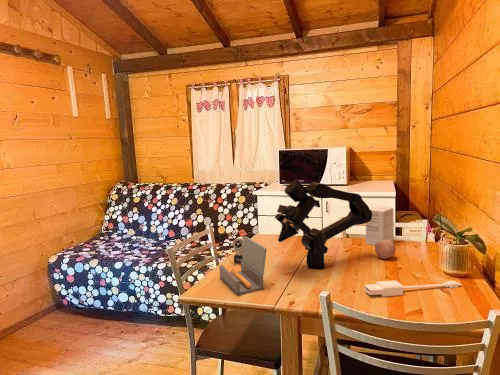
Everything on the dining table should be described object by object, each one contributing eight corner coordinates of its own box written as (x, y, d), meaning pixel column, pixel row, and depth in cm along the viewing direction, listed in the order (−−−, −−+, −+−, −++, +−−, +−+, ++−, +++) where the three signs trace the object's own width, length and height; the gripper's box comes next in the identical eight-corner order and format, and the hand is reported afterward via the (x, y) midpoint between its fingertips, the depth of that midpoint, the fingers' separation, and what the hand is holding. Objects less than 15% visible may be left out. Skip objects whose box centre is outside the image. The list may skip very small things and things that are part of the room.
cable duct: (244, 272, 142) (243, 260, 141) (263, 289, 126) (262, 275, 125) (220, 278, 138) (219, 265, 137) (237, 295, 122) (236, 281, 121)
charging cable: (465, 291, 118) (465, 282, 117) (370, 298, 114) (370, 288, 114) (454, 285, 122) (455, 276, 122) (363, 291, 119) (364, 281, 119)
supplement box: (376, 239, 176) (376, 205, 174) (394, 242, 169) (394, 207, 166) (365, 243, 170) (364, 208, 168) (383, 247, 163) (383, 211, 161)
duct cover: (242, 260, 141) (244, 260, 141) (261, 275, 125) (263, 275, 125) (244, 236, 140) (246, 236, 141) (264, 248, 124) (266, 248, 124)
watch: (232, 264, 152) (230, 239, 151) (239, 258, 160) (237, 234, 158) (244, 265, 150) (243, 240, 149) (251, 259, 158) (249, 234, 156)
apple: (392, 254, 153) (392, 236, 151) (398, 261, 145) (398, 242, 144) (373, 255, 153) (373, 237, 152) (377, 261, 146) (377, 242, 145)
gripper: (277, 193, 145) (254, 224, 142) (302, 200, 128) (276, 234, 125) (295, 210, 149) (273, 240, 146) (321, 218, 132) (296, 252, 129)
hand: (279, 241), depth 137 cm, fingers closed
